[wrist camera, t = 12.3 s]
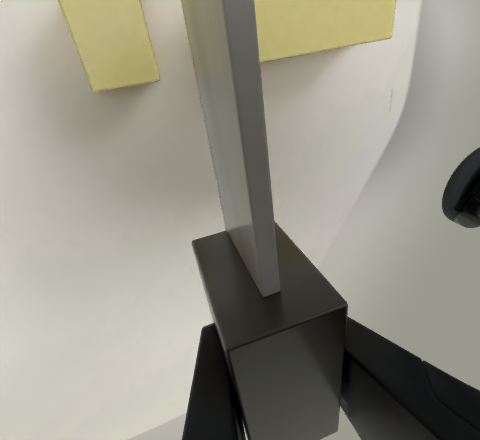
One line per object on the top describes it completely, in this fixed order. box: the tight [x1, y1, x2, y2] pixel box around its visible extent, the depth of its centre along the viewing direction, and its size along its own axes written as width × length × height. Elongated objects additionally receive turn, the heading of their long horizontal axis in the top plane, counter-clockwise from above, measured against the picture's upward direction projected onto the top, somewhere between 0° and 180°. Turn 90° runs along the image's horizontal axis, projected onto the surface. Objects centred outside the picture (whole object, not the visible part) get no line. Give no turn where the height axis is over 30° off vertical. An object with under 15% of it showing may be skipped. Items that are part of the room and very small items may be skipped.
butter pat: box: [58, 0, 160, 92], centre depth 11 cm, size 2×4×3 cm
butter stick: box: [254, 0, 396, 63], centre depth 13 cm, size 7×4×3 cm, turn 99°
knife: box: [181, 0, 348, 440], centre depth 6 cm, size 2×11×4 cm, turn 8°
